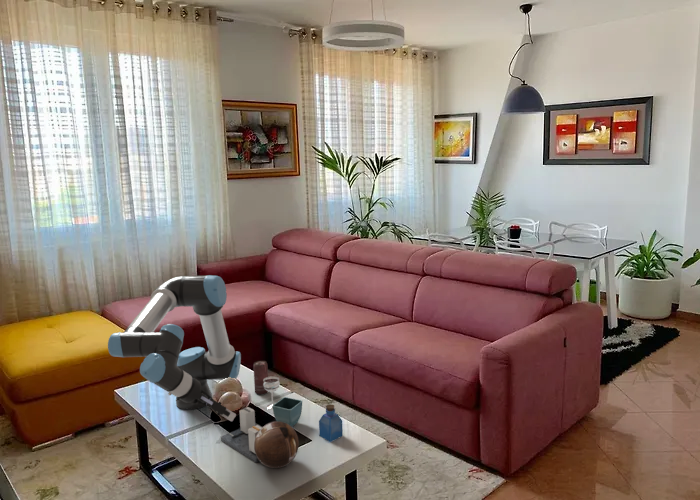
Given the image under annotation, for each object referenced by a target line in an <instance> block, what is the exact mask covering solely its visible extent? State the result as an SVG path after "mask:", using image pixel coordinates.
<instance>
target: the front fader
mask: <svg viewBox="0 0 700 500" xmlns="http://www.w3.org/2000/svg"><path fill="white" fill-rule="evenodd" d="M258 425H259V424H258ZM258 425H256V426H252V428H250V429H248V436H249V450H250V451H252V452H253V453H255V450H254V442H255V438H256V435H257V433H258V432H259V430H260V429H261V428H262V427H263V426H262V427H260V426H261V425H260V426H258Z"/></svg>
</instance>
